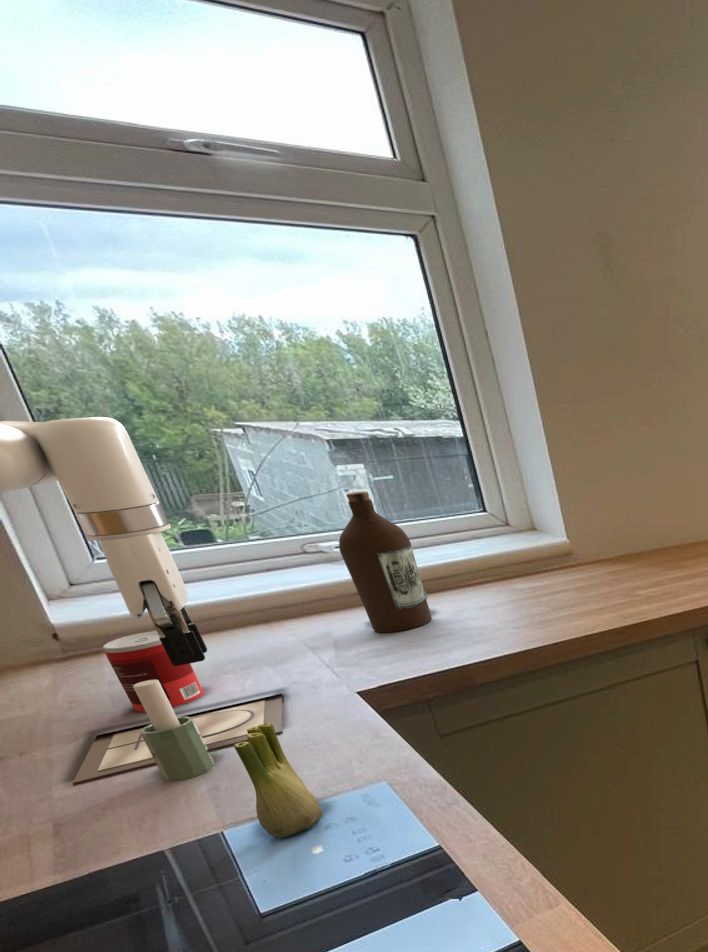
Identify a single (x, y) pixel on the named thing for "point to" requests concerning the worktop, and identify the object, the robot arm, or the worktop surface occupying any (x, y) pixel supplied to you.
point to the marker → (156, 705)
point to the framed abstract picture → (214, 726)
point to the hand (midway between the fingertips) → (190, 657)
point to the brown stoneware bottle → (383, 568)
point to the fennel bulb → (276, 785)
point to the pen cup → (179, 750)
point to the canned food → (150, 668)
